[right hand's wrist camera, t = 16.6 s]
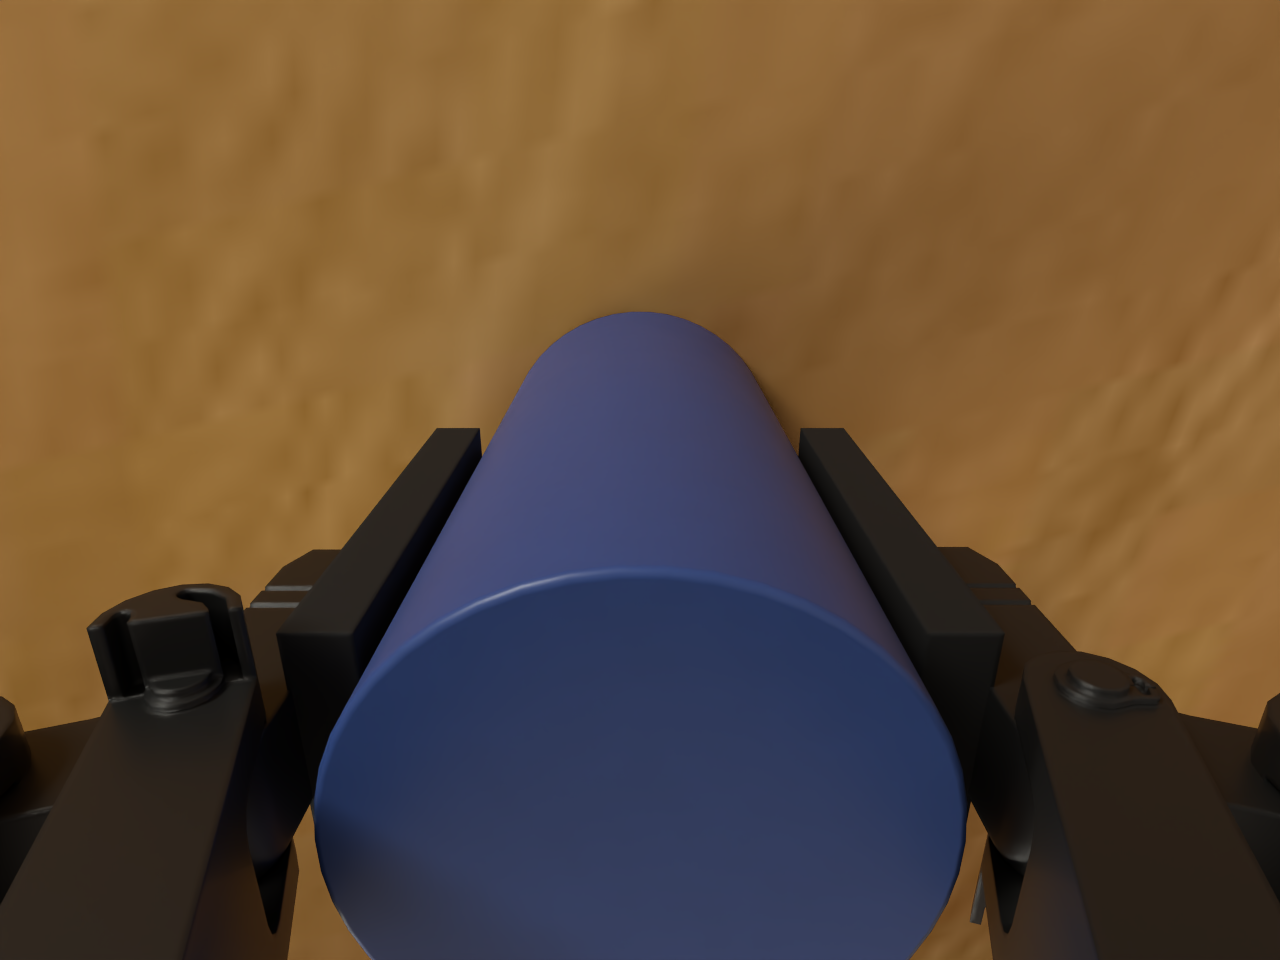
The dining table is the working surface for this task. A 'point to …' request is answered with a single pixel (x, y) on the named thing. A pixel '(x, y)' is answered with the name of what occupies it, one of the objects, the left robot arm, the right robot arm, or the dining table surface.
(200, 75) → the dining table surface
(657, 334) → the canister
